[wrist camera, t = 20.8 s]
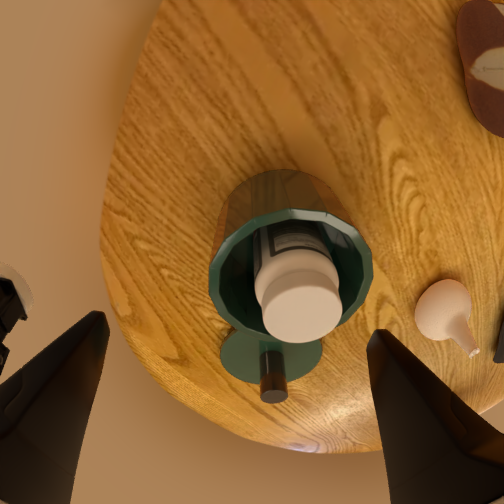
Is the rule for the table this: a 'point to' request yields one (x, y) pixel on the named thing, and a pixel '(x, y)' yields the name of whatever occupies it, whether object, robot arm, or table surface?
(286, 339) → the pill bottle
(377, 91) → the table surface
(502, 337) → the casserole
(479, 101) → the bread
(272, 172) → the pot
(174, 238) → the table surface
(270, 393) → the lid
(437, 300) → the garlic bulb
